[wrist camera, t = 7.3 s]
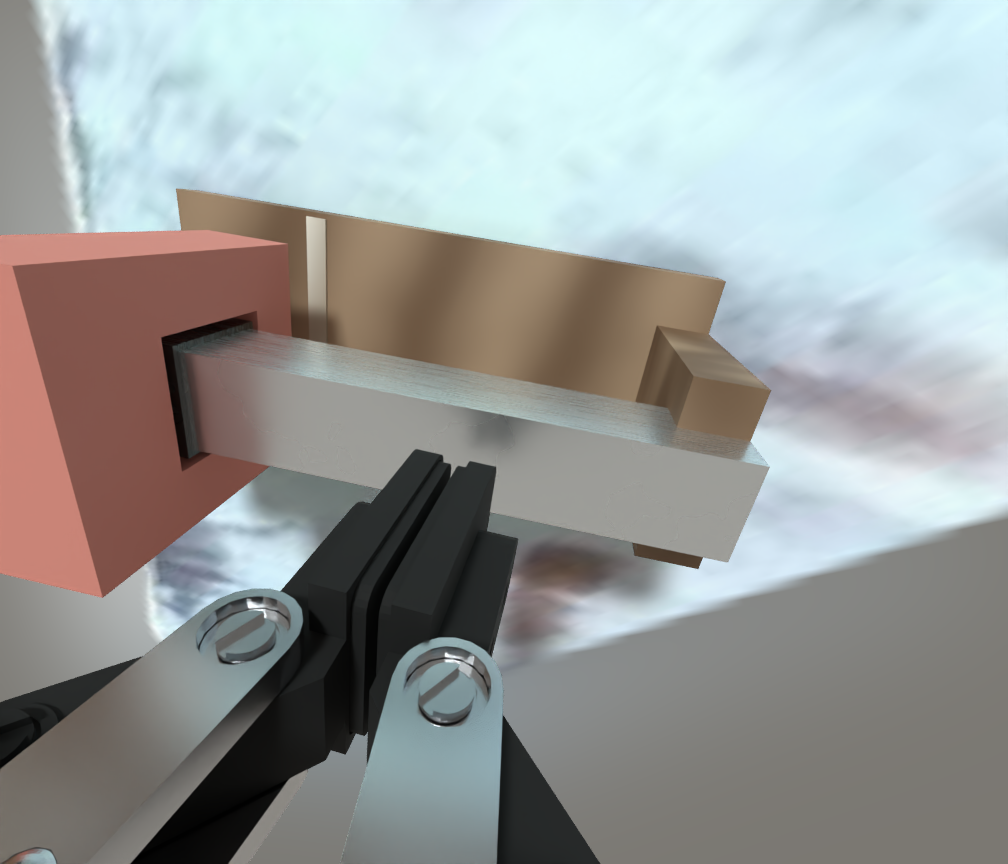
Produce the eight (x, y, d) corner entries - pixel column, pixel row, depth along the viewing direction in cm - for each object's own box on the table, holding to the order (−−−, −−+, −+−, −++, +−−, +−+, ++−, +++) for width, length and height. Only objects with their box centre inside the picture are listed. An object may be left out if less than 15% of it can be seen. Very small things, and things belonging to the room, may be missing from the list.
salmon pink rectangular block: (287, 244, 17) (11, 266, 9) (295, 445, 20) (102, 597, 12) (208, 230, 17) (-134, 238, 9) (229, 431, 20) (-5, 572, 12)
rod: (734, 412, 15) (776, 463, 11) (699, 505, 16) (727, 573, 13) (73, 287, 16) (-46, 303, 13) (95, 382, 18) (-8, 416, 14)
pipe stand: (717, 278, 19) (802, 313, 12) (648, 491, 23) (679, 615, 16) (197, 190, 20) (-13, 173, 13) (221, 405, 25) (71, 482, 17)
